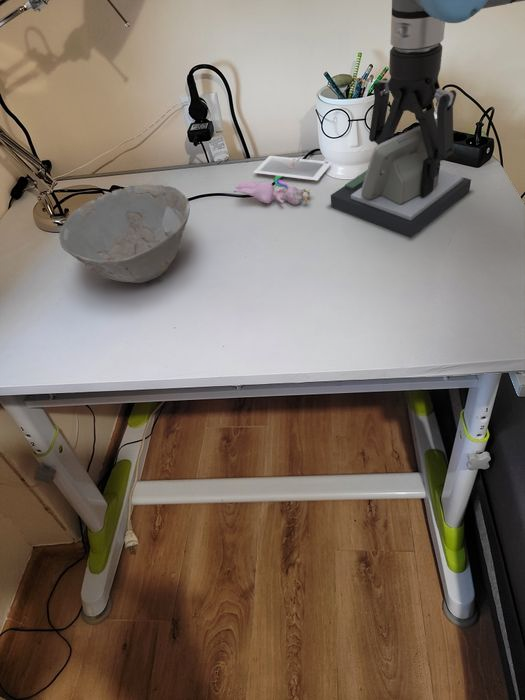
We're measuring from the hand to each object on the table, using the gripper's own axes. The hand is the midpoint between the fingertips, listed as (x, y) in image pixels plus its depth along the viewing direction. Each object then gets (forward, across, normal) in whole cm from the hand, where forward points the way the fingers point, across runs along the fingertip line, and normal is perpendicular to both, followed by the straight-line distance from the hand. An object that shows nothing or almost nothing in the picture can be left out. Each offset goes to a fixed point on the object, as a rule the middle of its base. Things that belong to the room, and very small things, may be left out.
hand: (406, 186), depth 91 cm
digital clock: (0, -1, 0) cm, 1 cm away
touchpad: (+4, -27, -2) cm, 27 cm away
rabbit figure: (+4, -22, -13) cm, 26 cm away
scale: (+4, -2, +1) cm, 4 cm away
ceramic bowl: (+4, -26, -42) cm, 50 cm away
